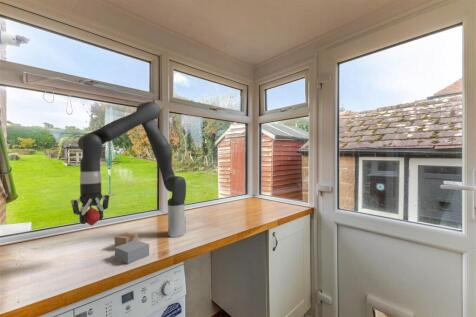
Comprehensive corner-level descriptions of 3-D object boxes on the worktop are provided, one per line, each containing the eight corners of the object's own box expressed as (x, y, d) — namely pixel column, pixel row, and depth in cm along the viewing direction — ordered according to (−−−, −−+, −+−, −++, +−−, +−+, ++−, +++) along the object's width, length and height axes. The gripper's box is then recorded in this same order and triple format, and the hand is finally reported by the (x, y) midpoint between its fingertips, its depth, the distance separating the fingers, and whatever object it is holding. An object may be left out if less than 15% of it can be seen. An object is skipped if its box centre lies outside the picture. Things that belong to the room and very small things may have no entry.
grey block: (135, 250, 106) (135, 239, 106) (149, 255, 100) (149, 244, 100) (114, 258, 97) (114, 247, 97) (128, 264, 92) (127, 252, 92)
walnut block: (126, 243, 114) (126, 232, 114) (137, 245, 112) (137, 233, 112) (114, 249, 108) (114, 236, 108) (126, 250, 106) (126, 238, 106)
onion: (102, 223, 97) (102, 204, 97) (94, 227, 91) (94, 207, 91) (89, 223, 97) (88, 205, 97) (80, 227, 91) (79, 208, 91)
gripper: (104, 179, 102) (104, 216, 102) (66, 183, 90) (67, 225, 90) (112, 180, 98) (113, 218, 98) (75, 184, 86) (76, 228, 86)
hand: (91, 221), depth 94 cm, fingers closed on onion, 6 cm apart
